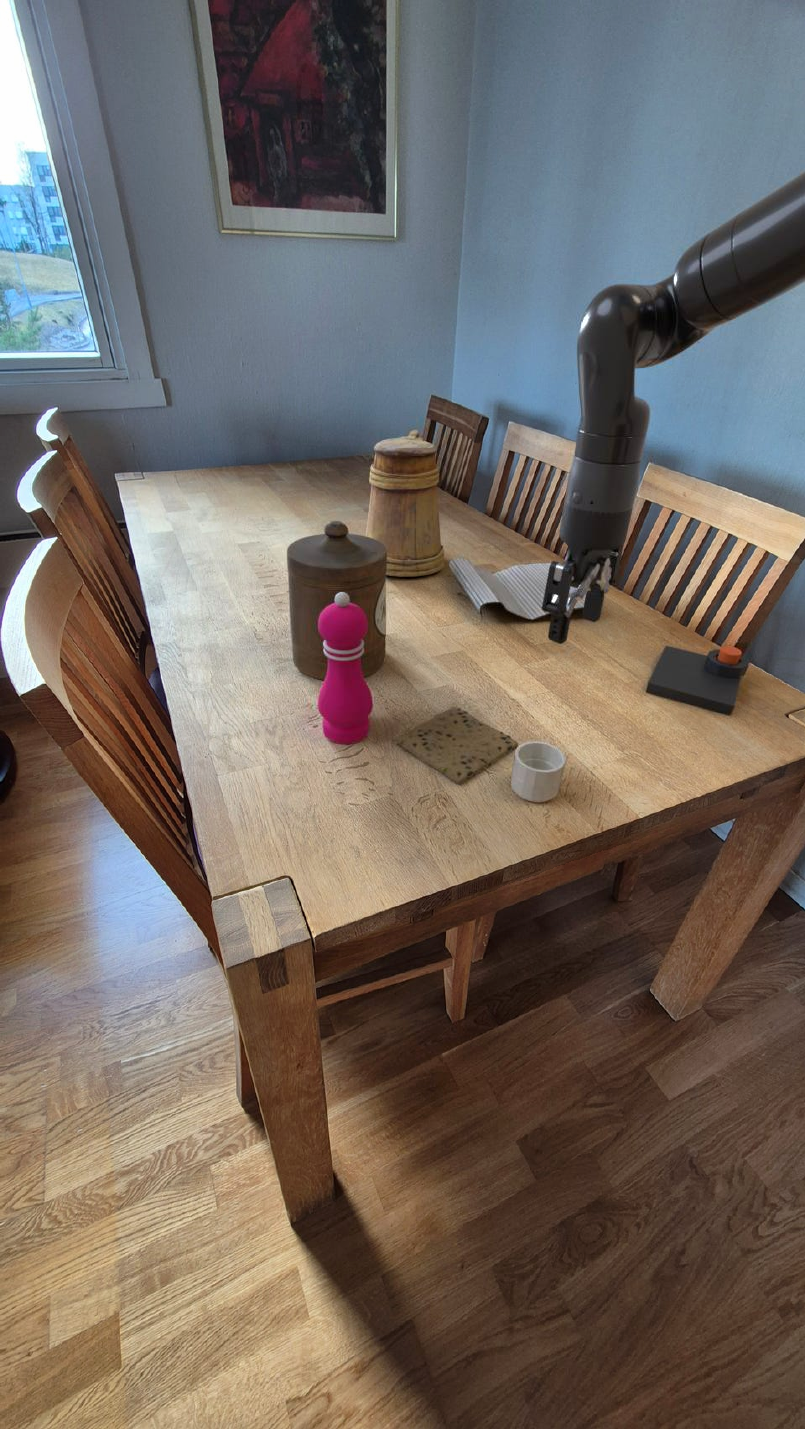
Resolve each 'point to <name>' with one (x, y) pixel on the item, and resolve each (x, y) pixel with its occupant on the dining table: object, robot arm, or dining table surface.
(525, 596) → the mat
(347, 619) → the pepper mill
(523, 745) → the white cup
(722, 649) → the button
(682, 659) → the scale
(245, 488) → the dining table surface
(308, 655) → the wooden container
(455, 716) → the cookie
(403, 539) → the tankard
